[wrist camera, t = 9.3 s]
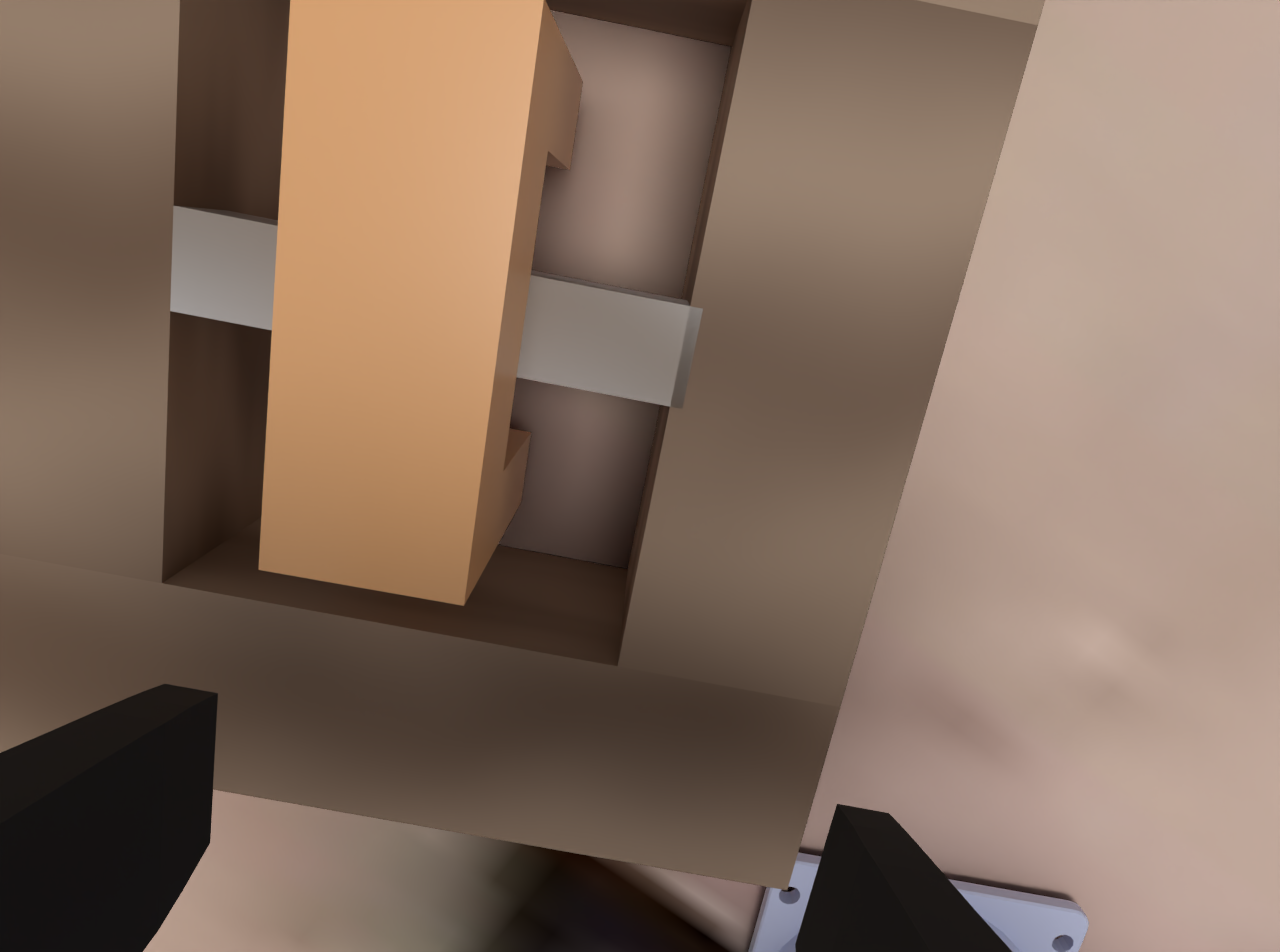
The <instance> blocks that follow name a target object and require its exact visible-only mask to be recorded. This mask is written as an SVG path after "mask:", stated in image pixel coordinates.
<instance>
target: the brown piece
mask: <svg viewBox="0 0 1280 952" xmlns="http://www.w3.org/2000/svg"><path fill="white" fill-rule="evenodd" d="M1044 2H1045V0H546V3H547V5H548V7H549V9H551V10H556V11H561V12H566V13H571V14H576V15H581V16H585V17H590V18H595V19H600V20H605V21H610V22H615V23H620V24H625V25H630V26H634V27H639V28H644V29H649V30H654V31H659V32H664V33H669V34H674V35H679V36H683V37H688V38H693V39H698V40H703V41H708V42H713V43H718V44H723V45H728V46H731V51H730V56H729V61H728V66H727V71H726V76H725V81H724V86H723V91H722V96H721V102H720V107H719V112H718V117H717V122H716V127H715V132H714V137H713V142H712V147H711V152H710V157H709V162H708V167H707V172H706V177H705V182H704V187H703V192H702V197H701V202H700V207H699V212H698V217H697V222H696V227H695V232H694V237H693V242H692V247H691V253H690V258H689V263H688V268H687V273H686V278H685V283H684V288H683V293H682V298H681V299H678V298H673V297H668V296H663V295H658V294H652V293H647V292H642V291H637V290H632V289H627V288H622V287H617V286H611V285H606V284H601V283H596V282H591V281H586V280H581V279H576V278H570V277H565V276H560V275H555V274H550V273H545V272H540V271H535V270H531V276H530V284H529V291H528V298H527V305H526V312H525V319H524V327H523V334H522V341H521V348H520V355H519V363H518V370H517V377H518V378H523V379H528V380H533V381H539V382H544V383H549V384H554V385H560V386H565V387H570V388H575V389H580V390H586V391H591V392H596V393H601V394H607V395H612V396H617V397H622V398H627V399H633V400H638V401H643V402H648V403H654V404H659V405H660V409H659V414H658V419H657V424H656V429H655V434H654V439H653V444H652V449H651V454H650V459H649V464H648V469H647V474H646V479H645V484H644V489H643V494H642V499H641V504H640V509H639V514H638V519H637V524H636V529H635V534H634V539H633V544H632V549H631V554H630V560H629V565H628V569H623V568H618V567H613V566H607V565H602V564H597V563H591V562H586V561H580V560H575V559H570V558H564V557H559V556H553V555H548V554H543V553H537V552H532V551H527V550H521V549H516V548H510V547H505V546H500V545H497V547H496V549H495V551H494V552H493V554H492V556H491V558H490V560H489V561H488V563H487V565H486V567H485V569H484V570H483V572H482V574H481V576H480V578H479V580H478V581H477V583H476V585H475V587H474V589H473V590H472V592H471V594H470V596H469V598H468V599H467V601H466V603H465V605H464V606H462V605H457V604H451V603H445V602H439V601H434V600H428V599H422V598H417V597H411V596H405V595H400V594H394V593H388V592H382V591H377V590H371V589H365V588H360V587H354V586H348V585H342V584H337V583H331V582H325V581H320V580H314V579H308V578H303V577H297V576H291V575H285V574H280V573H274V572H268V571H263V570H258V569H259V551H260V533H261V515H262V497H263V479H264V462H265V444H266V426H267V408H268V390H269V372H270V354H271V337H272V319H273V301H274V283H275V265H276V247H277V230H278V212H279V194H280V176H281V158H282V140H283V122H284V105H285V87H286V69H287V51H288V33H289V15H290V0H0V752H3V751H6V750H8V749H10V748H13V747H15V746H17V745H20V744H22V743H24V742H27V741H29V740H31V739H33V738H36V737H38V736H40V735H43V734H45V733H47V732H50V731H52V730H54V729H56V728H59V727H61V726H63V725H66V724H68V723H70V722H72V721H75V720H77V719H79V718H82V717H84V716H86V715H88V714H91V713H93V712H95V711H98V710H100V709H102V708H105V707H107V706H109V705H112V704H114V703H116V702H119V701H121V700H124V699H126V698H128V697H131V696H133V695H136V694H138V693H141V692H143V691H146V690H149V689H151V688H154V687H157V686H160V685H162V684H170V685H175V686H181V687H187V688H192V689H198V690H203V691H209V692H214V693H218V703H217V721H216V740H215V759H214V777H213V789H214V790H219V791H225V792H231V793H236V794H242V795H248V796H254V797H259V798H265V799H271V800H276V801H282V802H288V803H293V804H299V805H305V806H310V807H316V808H322V809H327V810H333V811H339V812H345V813H350V814H356V815H362V816H367V817H373V818H379V819H384V820H390V821H396V822H401V823H407V824H413V825H418V826H424V827H430V828H435V829H441V830H447V831H453V832H458V833H464V834H470V835H475V836H481V837H487V838H492V839H498V840H504V841H509V842H515V843H521V844H526V845H532V846H538V847H543V848H549V849H555V850H561V851H566V852H572V853H578V854H583V855H589V856H595V857H600V858H606V859H612V860H617V861H623V862H629V863H634V864H640V865H646V866H651V867H657V868H663V869H669V870H674V871H680V872H686V873H691V874H697V875H703V876H708V877H714V878H720V879H725V880H731V881H737V882H742V883H748V884H754V885H760V886H765V887H771V888H777V889H782V890H787V889H788V886H789V882H790V879H791V875H792V872H793V868H794V865H795V862H796V858H797V855H798V851H799V848H800V844H801V841H802V837H803V834H804V830H805V827H806V824H807V820H808V817H809V813H810V810H811V806H812V803H813V799H814V796H815V792H816V789H817V786H818V782H819V779H820V775H821V772H822V768H823V765H824V761H825V758H826V755H827V751H828V748H829V744H830V741H831V737H832V734H833V730H834V727H835V723H836V720H837V717H838V713H839V710H840V706H841V703H842V699H843V696H844V692H845V689H846V686H847V682H848V679H849V675H850V672H851V668H852V665H853V661H854V658H855V654H856V651H857V648H858V644H859V641H860V637H861V634H862V630H863V627H864V623H865V620H866V616H867V613H868V610H869V606H870V603H871V599H872V596H873V592H874V589H875V585H876V582H877V579H878V575H879V572H880V568H881V565H882V561H883V558H884V554H885V551H886V547H887V544H888V541H889V537H890V534H891V530H892V527H893V523H894V520H895V516H896V513H897V509H898V506H899V503H900V499H901V496H902V492H903V489H904V485H905V482H906V478H907V475H908V472H909V468H910V465H911V461H912V458H913V454H914V451H915V447H916V444H917V440H918V437H919V434H920V430H921V427H922V423H923V420H924V416H925V413H926V409H927V406H928V402H929V399H930V396H931V392H932V389H933V385H934V382H935V378H936V375H937V371H938V368H939V365H940V361H941V358H942V354H943V351H944V347H945V344H946V340H947V337H948V333H949V330H950V327H951V323H952V320H953V316H954V313H955V309H956V306H957V302H958V299H959V295H960V292H961V289H962V285H963V282H964V278H965V275H966V271H967V268H968V264H969V261H970V258H971V254H972V251H973V247H974V244H975V240H976V237H977V233H978V230H979V226H980V223H981V220H982V216H983V213H984V209H985V206H986V202H987V199H988V195H989V192H990V188H991V185H992V182H993V178H994V175H995V171H996V168H997V164H998V161H999V157H1000V154H1001V151H1002V147H1003V144H1004V140H1005V137H1006V133H1007V130H1008V126H1009V123H1010V119H1011V116H1012V113H1013V109H1014V106H1015V102H1016V99H1017V95H1018V92H1019V88H1020V85H1021V81H1022V78H1023V75H1024V71H1025V68H1026V64H1027V61H1028V57H1029V54H1030V50H1031V47H1032V44H1033V40H1034V37H1035V33H1036V30H1037V26H1038V23H1039V19H1040V16H1041V12H1042V9H1043V6H1044Z"/></svg>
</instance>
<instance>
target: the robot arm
mask: <svg viewBox="0 0 1280 952" xmlns="http://www.w3.org/2000/svg"><path fill="white" fill-rule="evenodd" d="M217 703H218V693H214V692H209V691H203V690H198V689H192V688H187V687H181V686H175V685H170V684H162V685H160V686H157V687H154V688H151V689H149V690H146V691H143V692H141V693H138V694H136V695H133V696H131V697H128V698H126V699H124V700H121V701H119V702H116V703H114V704H112V705H109V706H107V707H105V708H102V709H100V710H98V711H95V712H93V713H91V714H88V715H86V716H84V717H82V718H79V719H77V720H75V721H72V722H70V723H68V724H66V725H63V726H61V727H59V728H56V729H54V730H52V731H50V732H47V733H45V734H43V735H40V736H38V737H36V738H33V739H31V740H29V741H27V742H24V743H22V744H20V745H17V746H15V747H13V748H10V749H8V750H6V751H3V752H1V753H0V952H143V950H144V949H145V948H146V946H147V945H148V944H149V942H150V941H151V940H152V938H153V937H154V935H155V934H156V933H157V931H158V930H159V928H160V927H161V925H162V923H163V922H164V920H165V918H166V917H167V915H168V913H169V912H170V910H171V909H172V907H173V905H174V904H175V902H176V900H177V899H178V897H179V895H180V894H181V892H182V891H183V889H184V887H185V885H186V884H187V882H188V880H189V878H190V877H191V875H192V873H193V871H194V870H195V868H196V866H197V864H198V863H199V861H200V859H201V857H202V856H203V854H204V852H205V851H206V849H207V847H208V845H209V844H210V833H211V815H212V796H213V777H214V759H215V740H216V721H217ZM788 887H794V888H795V889H794V890H792V891H791V892H784V891H781V890H782V889H777V888H771V887H766V890H765V894H764V897H763V901H762V905H761V908H760V912H759V915H758V919H757V922H756V926H755V930H754V933H753V937H752V940H751V944H750V947H749V951H748V952H1078V951H1079V949H1080V947H1081V944H1082V942H1083V939H1084V937H1085V935H1086V932H1087V930H1088V925H1089V922H1088V919H1087V917H1086V915H1085V913H1084V912H1083V910H1082V909H1081V907H1080V906H1079V905H1078V904H1076V903H1075V902H1072V901H1069V900H1063V899H1058V898H1052V897H1047V896H1041V895H1035V894H1030V893H1024V892H1018V891H1013V890H1007V889H1001V888H996V887H990V886H984V885H979V884H973V883H968V882H962V881H956V880H951V879H948V878H947V877H946V876H945V875H944V874H943V873H942V872H941V870H940V869H939V868H938V867H937V866H936V865H935V864H934V862H933V861H932V860H931V859H930V858H929V857H928V856H927V854H926V853H925V852H924V851H923V850H922V849H921V848H920V847H919V845H918V844H917V843H916V842H915V841H914V840H913V839H912V838H911V836H910V835H909V834H908V833H907V832H906V831H905V830H904V829H903V828H902V827H901V825H900V824H899V823H898V822H897V821H896V820H895V819H894V818H893V817H892V816H891V815H890V814H889V813H884V812H879V811H873V810H868V809H862V808H857V807H851V806H845V805H840V804H837V806H836V810H835V813H834V816H833V820H832V823H831V826H830V830H829V833H828V836H827V840H826V843H825V846H824V850H823V853H822V856H815V855H810V854H804V853H798V855H797V858H796V862H795V865H794V868H793V872H792V875H791V879H790V882H789V886H788ZM1060 935H1063V936H1062V937H1060V938H1058V939H1055V938H1056V937H1058V936H1060Z"/></svg>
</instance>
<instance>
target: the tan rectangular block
mask: <svg viewBox="0 0 1280 952" xmlns="http://www.w3.org/2000/svg"><path fill="white" fill-rule="evenodd" d="M582 84H583V81H582V79H581V77H580V74H579V72H578V70H577V68H576V66H575V64H574V61H573V59H572V57H571V55H570V53H569V51H568V48H567V46H566V44H565V42H564V40H563V37H562V35H561V33H560V31H559V29H558V27H557V24H556V22H555V20H554V18H553V16H552V14H551V11H550V9H549V7H548V5H547V3H546V0H290V15H289V33H288V51H287V69H286V87H285V105H284V122H283V140H282V158H281V176H280V194H279V212H278V230H277V247H276V265H275V283H274V301H273V319H272V337H271V354H270V372H269V390H268V408H267V426H266V444H265V462H264V479H263V497H262V515H261V533H260V551H259V569H258V570H263V571H268V572H274V573H280V574H285V575H291V576H297V577H303V578H308V579H314V580H320V581H325V582H331V583H337V584H342V585H348V586H354V587H360V588H365V589H371V590H377V591H382V592H388V593H394V594H400V595H405V596H411V597H417V598H422V599H428V600H434V601H439V602H445V603H451V604H457V605H462V606H464V605H465V603H466V601H467V599H468V598H469V596H470V594H471V592H472V590H473V589H474V587H475V585H476V583H477V581H478V580H479V578H480V576H481V574H482V572H483V570H484V569H485V567H486V565H487V563H488V561H489V560H490V558H491V556H492V554H493V552H494V551H495V549H496V547H497V545H498V543H499V542H500V540H501V538H502V536H503V534H504V533H505V531H506V529H507V527H508V525H509V524H510V522H511V520H512V518H513V516H514V515H515V513H516V511H517V509H518V507H519V505H520V504H521V499H522V493H523V486H524V479H525V472H526V465H527V459H528V452H529V445H530V438H531V432H527V431H521V430H516V429H510V428H509V427H510V420H511V413H512V406H513V398H514V391H515V384H516V377H517V370H518V363H519V355H520V348H521V341H522V334H523V327H524V319H525V312H526V305H527V298H528V291H529V284H530V276H531V269H532V262H533V255H534V248H535V241H536V233H537V226H538V219H539V212H540V205H541V197H542V190H543V183H544V176H545V169H546V166H551V167H557V168H562V169H567V170H570V166H571V159H572V152H573V146H574V139H575V132H576V125H577V118H578V112H579V105H580V98H581V91H582Z"/></svg>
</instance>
